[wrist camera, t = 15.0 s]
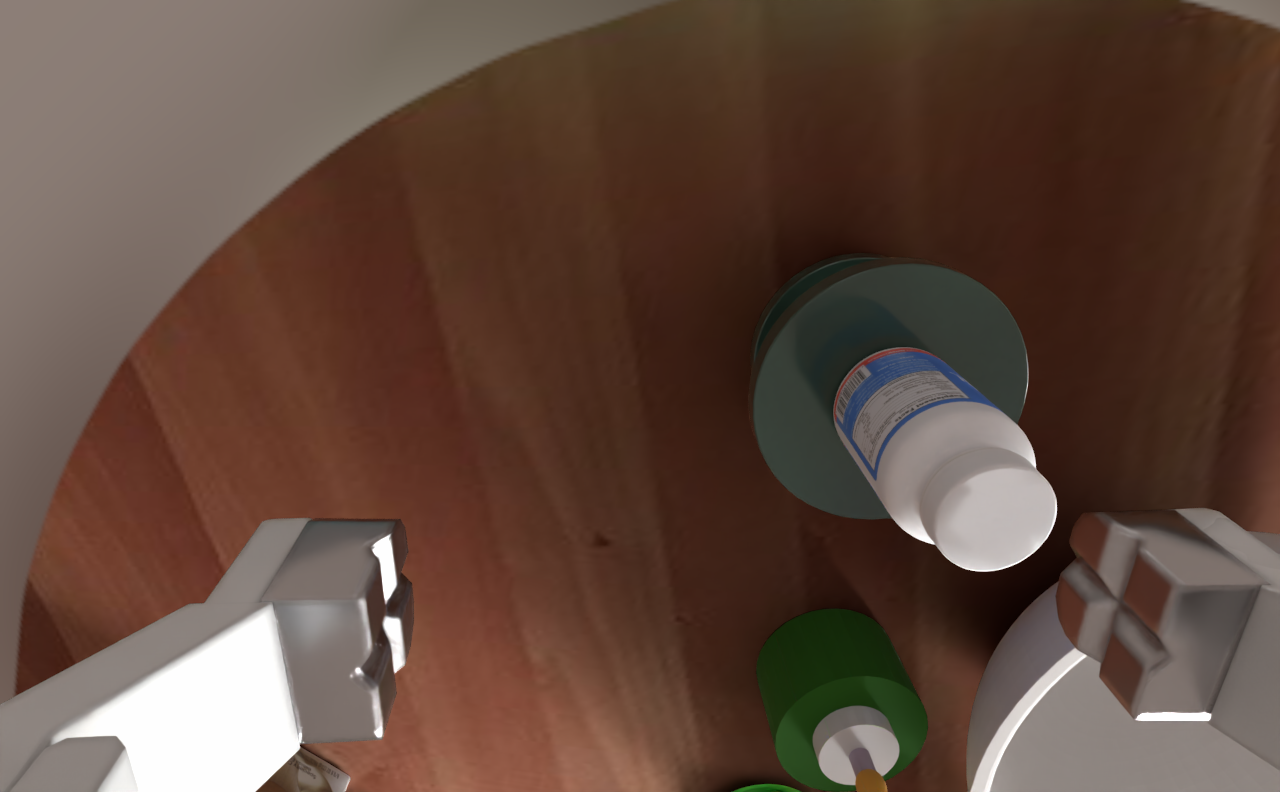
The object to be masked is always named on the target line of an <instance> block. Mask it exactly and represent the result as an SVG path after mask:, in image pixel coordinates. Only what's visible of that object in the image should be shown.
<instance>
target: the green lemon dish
mask: <svg viewBox="0 0 1280 792" xmlns="http://www.w3.org/2000/svg"><path fill="white" fill-rule="evenodd" d="M733 792H801V791H798V790H796V789H794V788H791V787H787V786H783V785H777V784H759V785H752V786H748V787H743V788H740V789H738V790H735V791H733Z"/></svg>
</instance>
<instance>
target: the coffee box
mask: <svg viewBox="0 0 1280 792" xmlns="http://www.w3.org/2000/svg"><path fill="white" fill-rule="evenodd" d="M349 781H350V776H349V775H347V774H346V773H344V772H342V771H340V770H339V769H337V768H335V767H334V766H332V765H330V764H329V763H327V762H325V761H324V760H322V759H320V758H318V757H317V756H315V755H313V754H312V753H310V752H308V751H306V750H305V749H303V748H301V747H300V749H299V750H298V751H297V752H296V753H295V754H294V755H293V756H292V757H291V758H290V759H289V760H288V761H287V762H286V763H285V764H284V765H283V766H282V767H281V768H280V769H278V770H277V771H276V772H275V773H274V774H273V775H272V776H271V777H270V778H269V779H268V780H267V781H266V782H265V783H264V784H263V785H262V786H261V787H260V788H259V789H258V790H256V791H255V792H345V791H346V788H347V785H348V783H349Z"/></svg>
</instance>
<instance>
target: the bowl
mask: <svg viewBox="0 0 1280 792" xmlns="http://www.w3.org/2000/svg"><path fill="white" fill-rule="evenodd" d="M1247 532H1248V533H1249V534H1251V535H1252V536H1254V537H1255V538H1256V539H1258V540H1259V541H1260V542H1262V543H1263V544H1265V545H1266V546H1267V547H1269V548H1270V549H1271V550H1273V551H1274V552H1276V553H1277V554H1278V555H1280V534H1274V533H1265V532H1250V531H1247ZM1058 583H1059V581H1058V582H1057V583H1055V584H1054V585H1053V586H1051V587H1050V588H1049V589H1047V590H1046V591H1045V592H1044V593H1043V594H1041V595H1040V596H1039V597H1038V598H1037V599H1036V600H1034V601H1033V602H1032V603H1031V604H1030V605H1029V606H1028V607H1027V608H1026V609H1025V610H1024V611H1023V612H1022V614H1021V615H1020V616H1019V617H1018V618H1017V620H1016V621H1015V622H1014V623H1013V624H1012V625H1011V627H1010V628H1009V630H1008V631H1007V632H1006V634H1005V635H1004V637H1003V638H1002V640H1001V641H1000V642H999V644H998V646H997V647H996V649H995V651H994V653H993V655H992V656H991V658H990V660H989V662H988V664H987V666H986V669H985V671H984V673H983V676H982V678H981V680H980V683H979V687H978V690H977V693H976V697H975V700H974V703H973V707H972V712H971V718H970V724H969V730H968V738H967V787H968V792H1280V771H1279V770H1277V769H1276V768H1274V767H1273V766H1271V765H1270V764H1268V763H1267V762H1265V761H1264V760H1262V759H1261V758H1259V757H1258V756H1256V755H1255V754H1253V753H1252V752H1250V751H1249V750H1247V749H1246V748H1244V747H1243V746H1241V745H1240V744H1238V743H1237V742H1235V741H1234V740H1232V739H1230V738H1229V737H1227V736H1226V735H1224V734H1223V733H1221V732H1220V731H1218V730H1217V729H1215V728H1214V727H1212V726H1211V725H1209V724H1208V720H1134V719H1133V718H1132V717H1131V716H1130V714H1129V713H1128V712H1127V711H1126V710H1125V708H1124V707H1123V706H1122V705H1121V703H1120V702H1119V701H1118V700H1117V699H1116V697H1115V696H1114V695H1113V694H1112V692H1111V691H1110V690H1109V689H1108V688H1107V686H1106V685H1105V684H1104V683H1103V681H1102V680H1101V679H1100V678H1099V672H1100V664H1101V663H1099V662H1098V661H1096V660H1094V659H1092V658H1091V657H1089V656H1087V655H1085V654H1083V653H1082V652H1080V651H1078V650H1077V649H1076V648H1075V647H1074V645H1073V644H1072V643H1071V641H1070V640H1069V639H1068V638H1067V636H1066V635H1065V633H1064V631H1063V628H1062V626H1061V624H1060V621H1059V619H1058V613H1057V605H1056V597H1055V596H1056V592H1057V587H1058Z"/></svg>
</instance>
